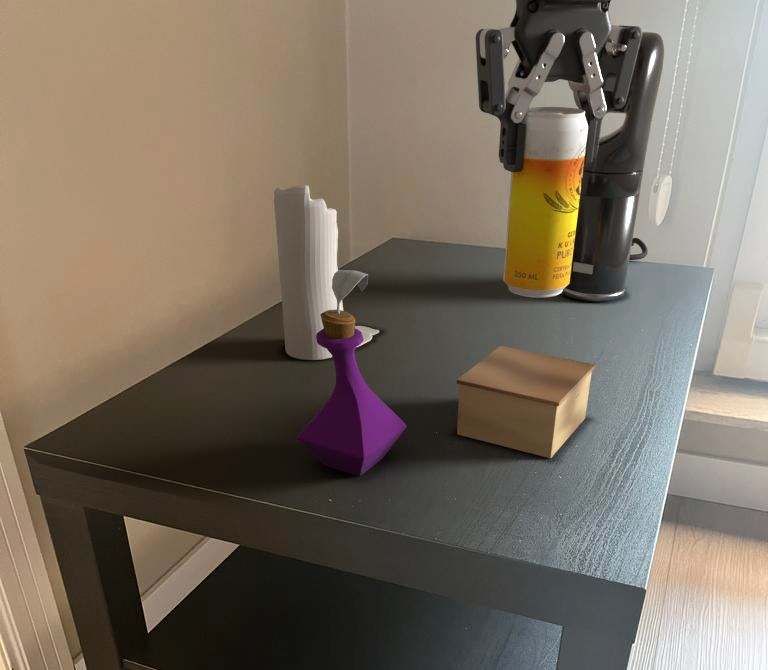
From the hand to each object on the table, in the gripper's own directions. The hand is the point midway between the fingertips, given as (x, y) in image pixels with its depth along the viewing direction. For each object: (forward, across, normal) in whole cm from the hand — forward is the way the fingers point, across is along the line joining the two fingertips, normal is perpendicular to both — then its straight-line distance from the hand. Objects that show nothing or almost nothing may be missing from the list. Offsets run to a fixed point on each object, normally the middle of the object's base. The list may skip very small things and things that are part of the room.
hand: (547, 167), depth 69 cm
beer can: (+11, 0, 0) cm, 11 cm away
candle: (+25, +12, -29) cm, 40 cm away
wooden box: (+25, 0, 0) cm, 25 cm away
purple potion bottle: (+25, +19, +2) cm, 31 cm away
